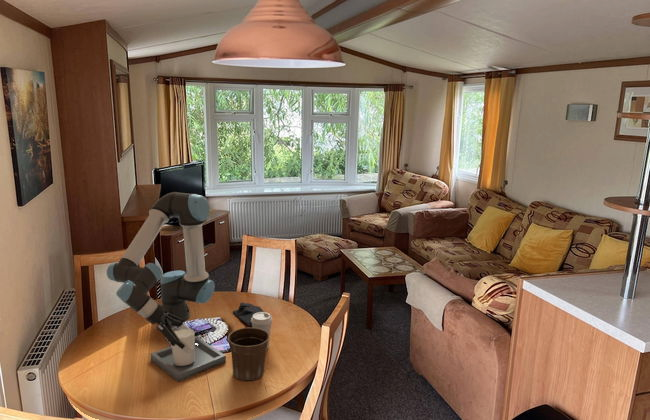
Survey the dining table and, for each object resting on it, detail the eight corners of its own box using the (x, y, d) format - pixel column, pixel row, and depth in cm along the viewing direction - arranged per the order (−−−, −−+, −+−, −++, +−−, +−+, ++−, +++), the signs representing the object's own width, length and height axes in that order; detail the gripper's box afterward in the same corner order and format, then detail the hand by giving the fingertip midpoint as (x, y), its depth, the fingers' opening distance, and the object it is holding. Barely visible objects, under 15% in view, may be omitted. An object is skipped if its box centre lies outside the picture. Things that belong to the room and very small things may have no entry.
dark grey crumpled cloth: (243, 329, 231) (243, 320, 230) (231, 311, 250) (231, 303, 249) (273, 324, 238) (273, 315, 237) (259, 307, 257) (259, 298, 256)
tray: (150, 360, 200) (150, 353, 200) (197, 342, 216) (197, 336, 215) (178, 382, 186) (177, 375, 185) (225, 361, 201) (225, 355, 200)
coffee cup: (268, 353, 209) (268, 321, 206) (247, 350, 211) (247, 319, 208) (274, 343, 218) (275, 312, 215) (254, 340, 220) (255, 310, 217)
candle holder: (174, 357, 202) (171, 330, 200) (198, 355, 203) (196, 328, 201) (170, 368, 192) (167, 339, 190) (195, 365, 193) (192, 336, 192)
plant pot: (244, 358, 204) (244, 323, 201) (276, 368, 198) (277, 332, 194) (219, 377, 190) (219, 339, 187) (253, 388, 183) (254, 350, 180)
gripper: (149, 304, 205) (187, 335, 211) (139, 332, 181) (182, 365, 187) (162, 292, 205) (199, 323, 211) (154, 318, 181) (196, 351, 187)
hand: (191, 343), depth 199 cm, fingers open, 13 cm apart
